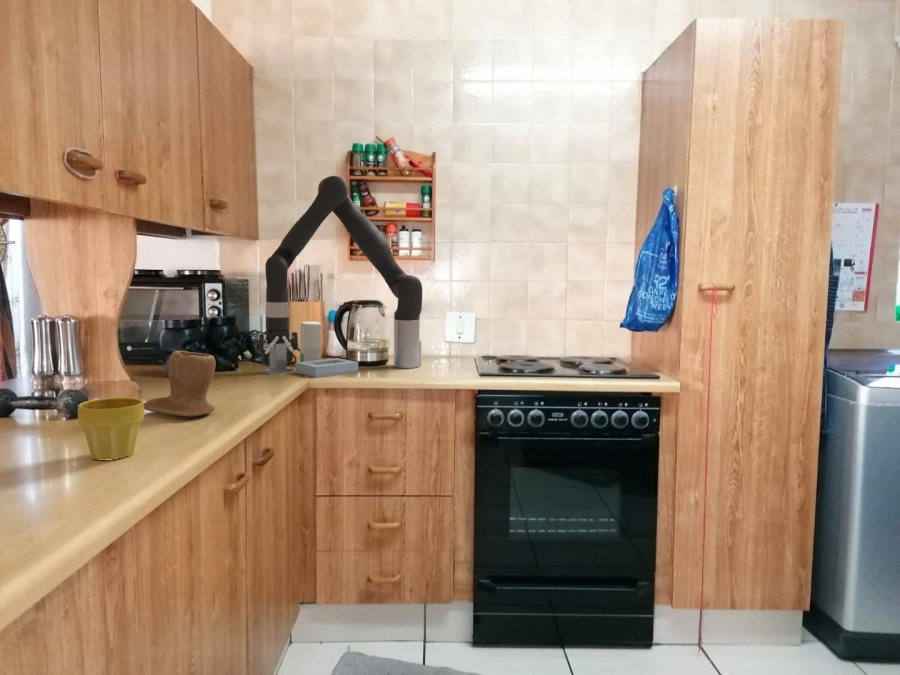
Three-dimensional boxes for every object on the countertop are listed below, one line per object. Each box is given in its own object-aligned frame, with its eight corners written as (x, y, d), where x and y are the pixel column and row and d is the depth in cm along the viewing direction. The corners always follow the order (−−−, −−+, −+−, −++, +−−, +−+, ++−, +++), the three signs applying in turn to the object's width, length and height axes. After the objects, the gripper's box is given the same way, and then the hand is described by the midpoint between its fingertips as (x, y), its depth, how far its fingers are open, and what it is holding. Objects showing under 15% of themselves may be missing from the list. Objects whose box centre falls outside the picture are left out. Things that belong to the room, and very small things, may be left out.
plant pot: (158, 448, 110) (156, 398, 108) (118, 466, 99) (116, 410, 98) (109, 445, 111) (107, 395, 110) (65, 462, 101) (62, 407, 100)
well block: (337, 367, 207) (337, 358, 206) (358, 371, 199) (358, 361, 198) (295, 373, 195) (295, 362, 194) (315, 377, 186) (315, 367, 186)
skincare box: (299, 363, 216) (299, 321, 215) (317, 362, 219) (317, 321, 217) (304, 366, 209) (303, 323, 207) (322, 365, 211) (322, 322, 210)
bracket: (287, 370, 200) (286, 341, 199) (293, 371, 197) (292, 342, 196) (263, 373, 194) (262, 343, 192) (269, 374, 191) (268, 344, 190)
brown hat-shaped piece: (228, 411, 139) (226, 350, 138) (188, 423, 128) (186, 356, 127) (181, 405, 145) (179, 346, 144) (139, 415, 134) (137, 351, 133)
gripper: (263, 317, 186) (263, 367, 187) (302, 315, 196) (302, 363, 198) (251, 315, 191) (252, 364, 192) (290, 314, 201) (290, 360, 203)
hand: (277, 363), depth 195 cm, fingers open, 8 cm apart
